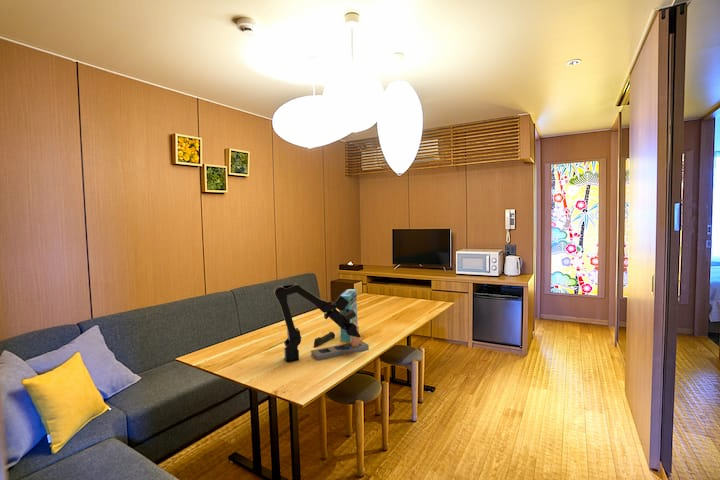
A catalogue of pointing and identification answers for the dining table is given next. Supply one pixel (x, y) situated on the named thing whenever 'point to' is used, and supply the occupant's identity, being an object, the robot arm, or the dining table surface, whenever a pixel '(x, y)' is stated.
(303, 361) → the dining table surface
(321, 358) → the rail
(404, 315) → the dining table surface
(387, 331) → the dining table surface
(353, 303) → the game box
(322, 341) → the hand tool
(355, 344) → the peg
